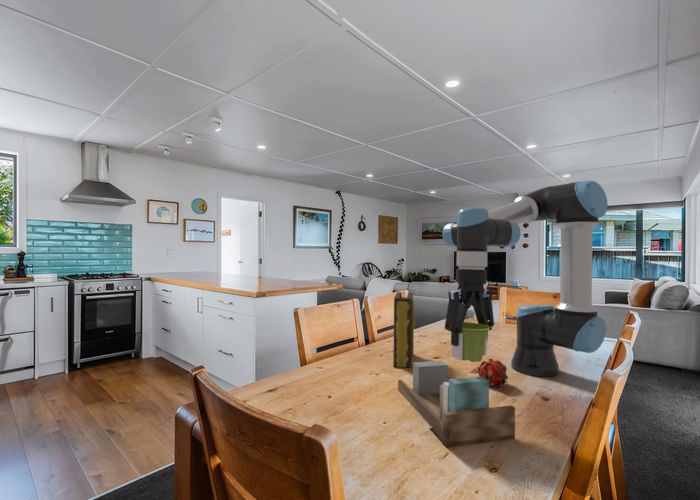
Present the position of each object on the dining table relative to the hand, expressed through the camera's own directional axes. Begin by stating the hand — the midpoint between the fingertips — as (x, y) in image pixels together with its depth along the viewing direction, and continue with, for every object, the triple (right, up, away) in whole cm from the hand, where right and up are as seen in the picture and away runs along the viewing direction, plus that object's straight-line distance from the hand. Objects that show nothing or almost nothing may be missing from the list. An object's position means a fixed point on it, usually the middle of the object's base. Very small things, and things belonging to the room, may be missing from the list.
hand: (469, 356), depth 91 cm
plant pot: (0, -1, 0) cm, 1 cm away
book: (-10, -15, +45) cm, 49 cm away
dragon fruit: (+14, -16, +20) cm, 29 cm away
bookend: (-7, -14, +13) cm, 20 cm away
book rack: (-5, -15, +1) cm, 16 cm away
